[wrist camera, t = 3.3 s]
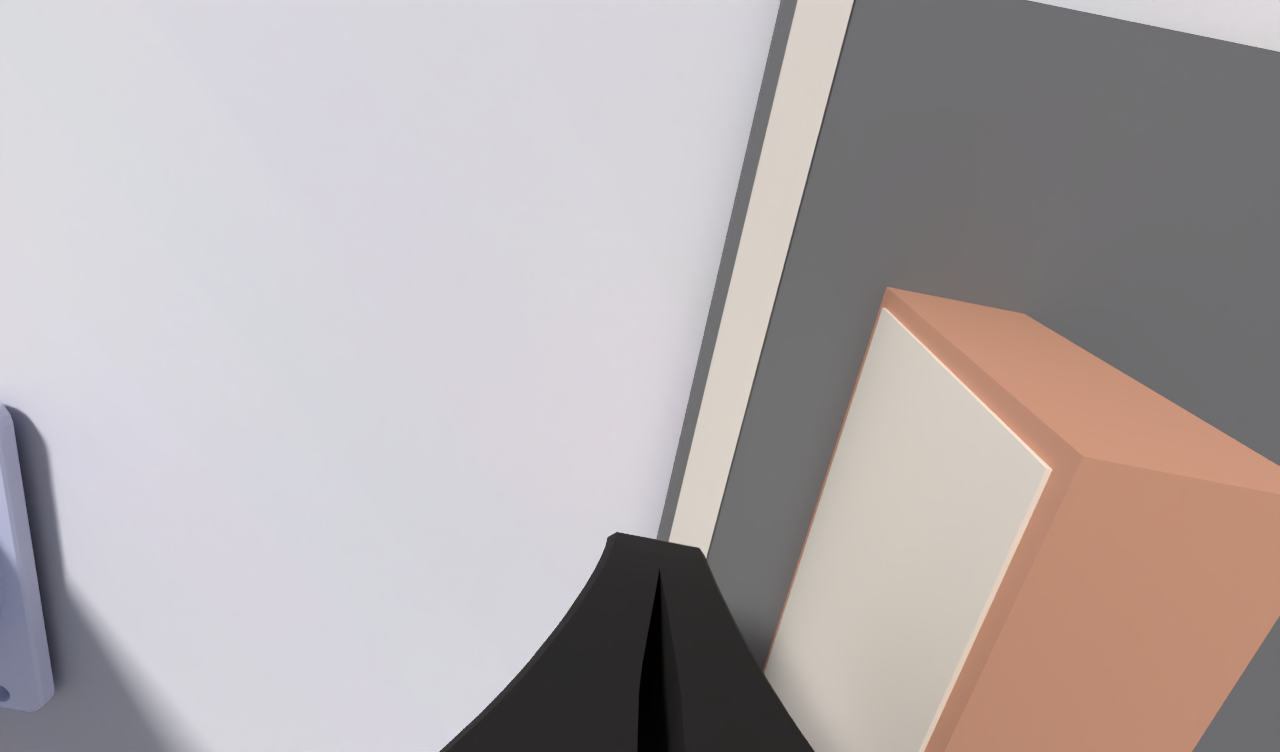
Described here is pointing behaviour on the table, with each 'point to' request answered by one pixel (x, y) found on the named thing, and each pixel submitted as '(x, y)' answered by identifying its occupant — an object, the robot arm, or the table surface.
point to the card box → (1021, 551)
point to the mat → (981, 250)
